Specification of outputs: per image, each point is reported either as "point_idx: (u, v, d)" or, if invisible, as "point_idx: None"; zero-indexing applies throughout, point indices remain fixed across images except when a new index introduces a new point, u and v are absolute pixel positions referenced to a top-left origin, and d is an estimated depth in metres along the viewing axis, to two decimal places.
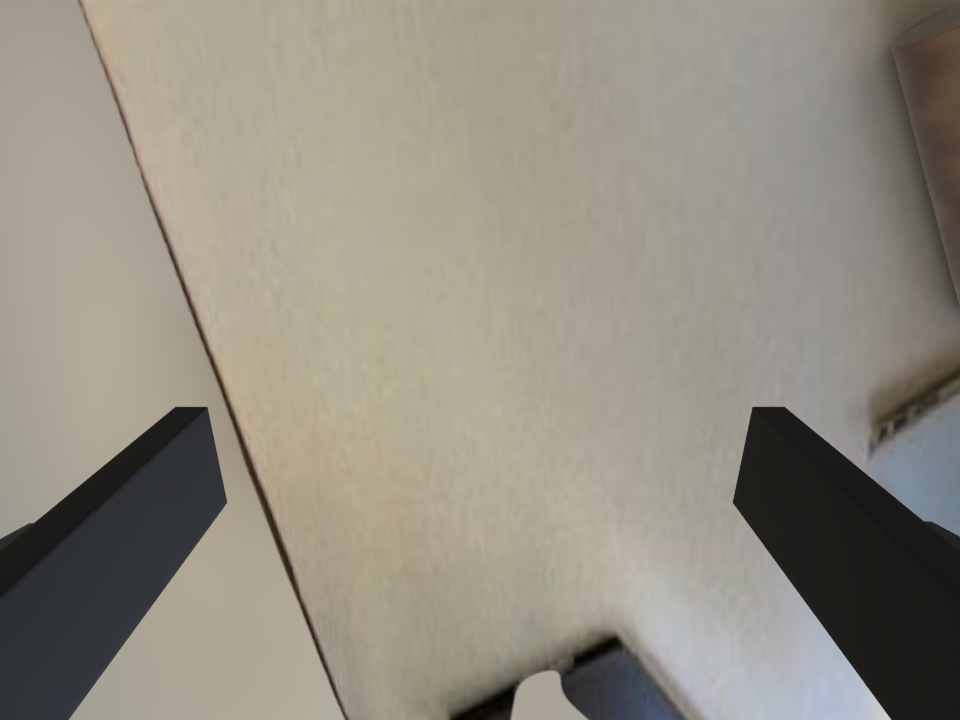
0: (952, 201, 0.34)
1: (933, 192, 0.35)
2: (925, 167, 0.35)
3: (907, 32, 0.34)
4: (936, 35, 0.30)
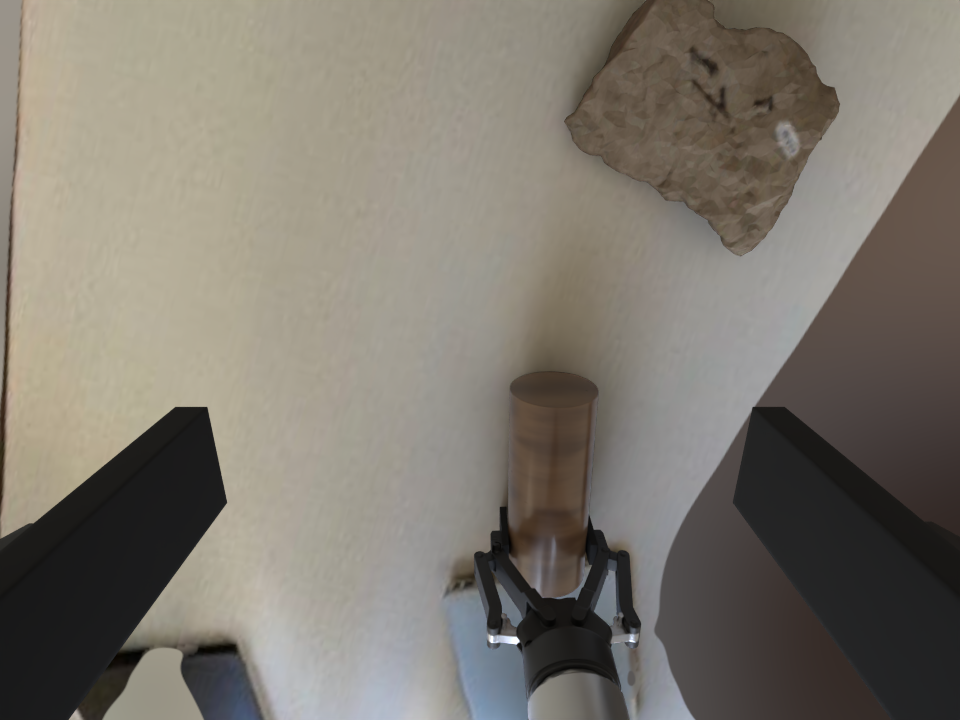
0: (508, 479, 0.55)
1: None
2: None
3: (533, 374, 0.55)
4: (514, 395, 0.51)
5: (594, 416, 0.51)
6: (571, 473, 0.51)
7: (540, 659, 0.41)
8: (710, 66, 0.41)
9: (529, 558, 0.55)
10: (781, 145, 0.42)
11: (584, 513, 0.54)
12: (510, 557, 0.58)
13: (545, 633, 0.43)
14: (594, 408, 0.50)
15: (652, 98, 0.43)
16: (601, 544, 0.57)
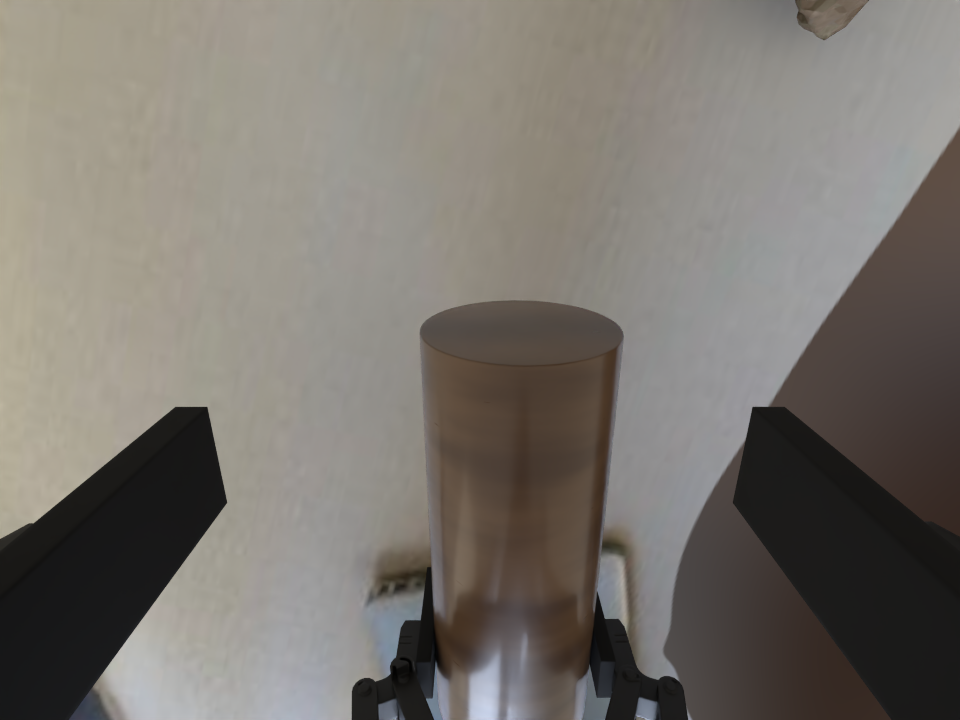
0: None
1: None
2: None
3: (482, 304, 0.26)
4: (425, 341, 0.21)
5: (614, 390, 0.22)
6: (560, 524, 0.22)
7: None
8: None
9: (471, 692, 0.26)
10: None
11: (587, 602, 0.25)
12: (438, 677, 0.29)
13: None
14: (614, 371, 0.21)
15: None
16: (622, 656, 0.28)
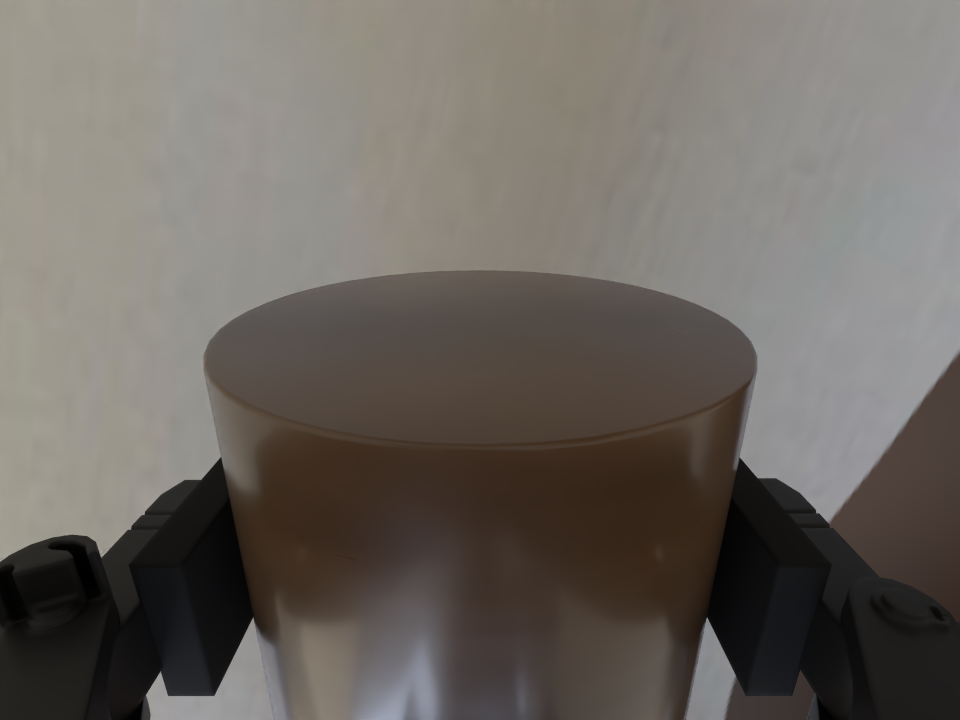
0: None
1: None
2: None
3: (411, 276, 0.13)
4: (207, 352, 0.08)
5: (730, 492, 0.08)
6: None
7: None
8: None
9: None
10: None
11: None
12: None
13: None
14: (740, 443, 0.07)
15: None
16: None
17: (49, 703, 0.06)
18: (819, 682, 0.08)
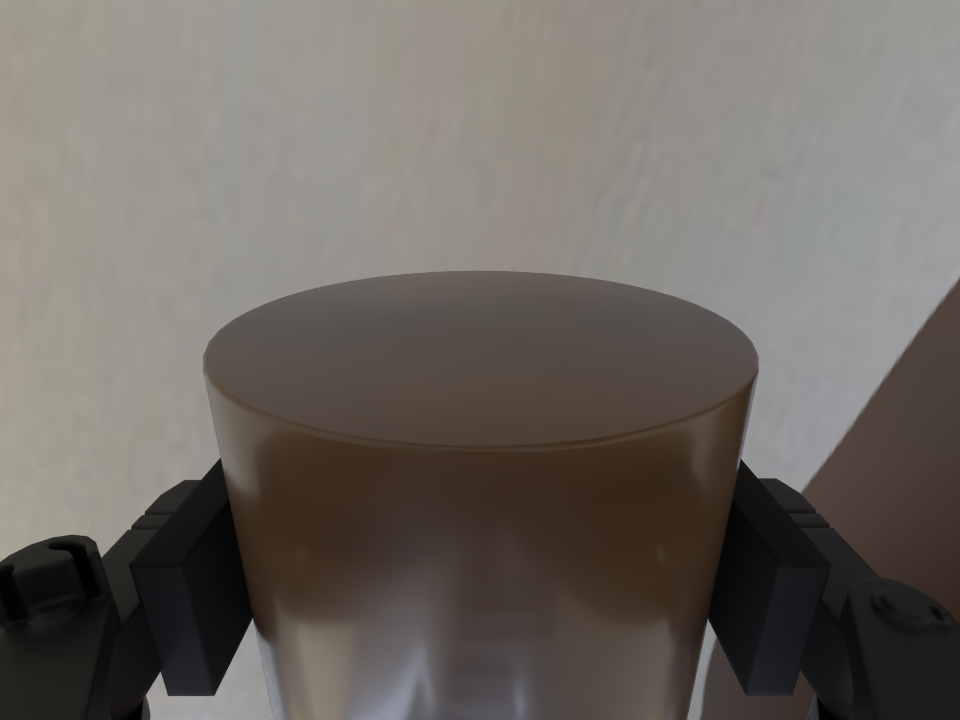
0: None
1: None
2: None
3: (411, 276, 0.13)
4: (207, 353, 0.08)
5: (732, 494, 0.08)
6: None
7: None
8: None
9: None
10: None
11: None
12: None
13: None
14: (742, 444, 0.07)
15: None
16: None
17: (49, 703, 0.06)
18: (819, 682, 0.08)
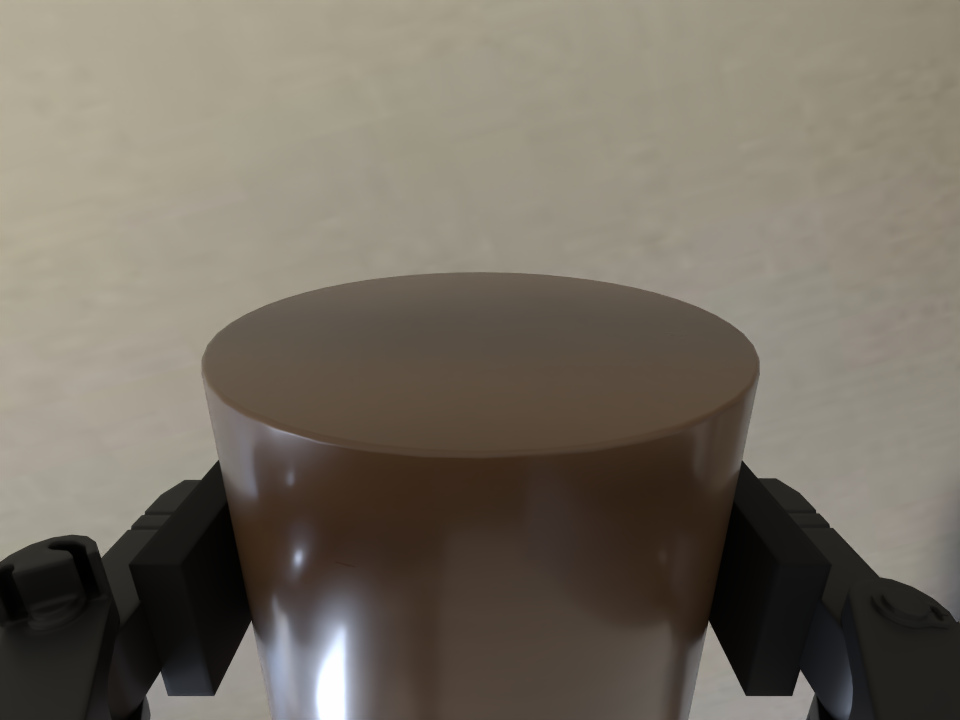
0: None
1: None
2: None
3: (411, 278, 0.12)
4: (206, 356, 0.08)
5: (732, 497, 0.08)
6: None
7: None
8: None
9: None
10: None
11: None
12: None
13: None
14: (743, 447, 0.07)
15: None
16: None
17: (49, 703, 0.06)
18: (819, 682, 0.08)
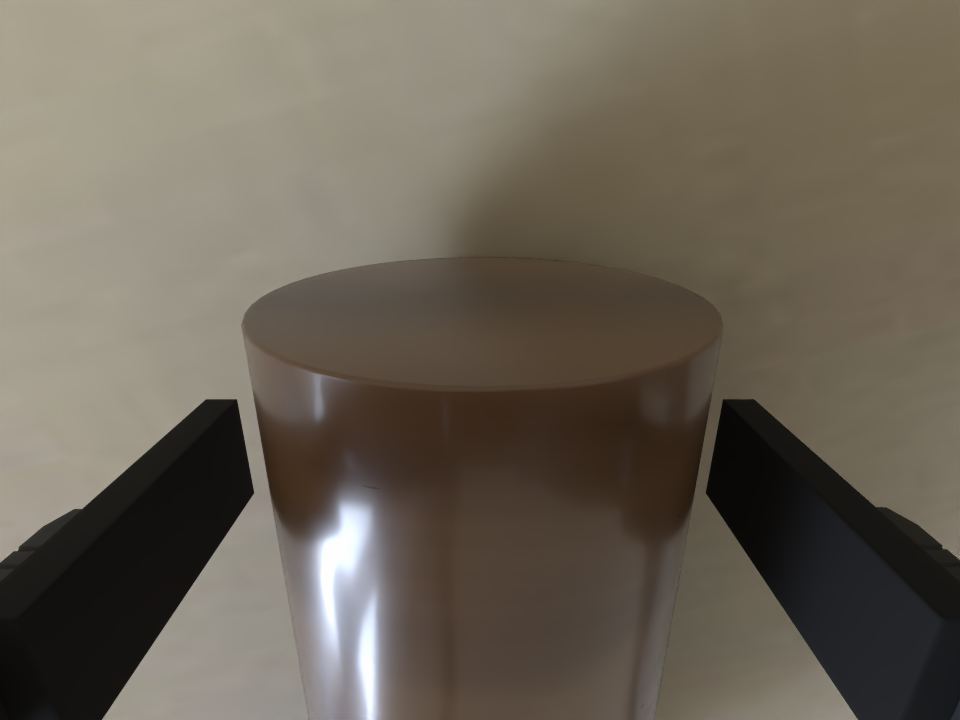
0: None
1: None
2: None
3: (418, 262, 0.14)
4: (245, 322, 0.09)
5: (701, 445, 0.09)
6: None
7: None
8: None
9: None
10: None
11: None
12: None
13: None
14: (708, 399, 0.08)
15: None
16: None
17: None
18: None
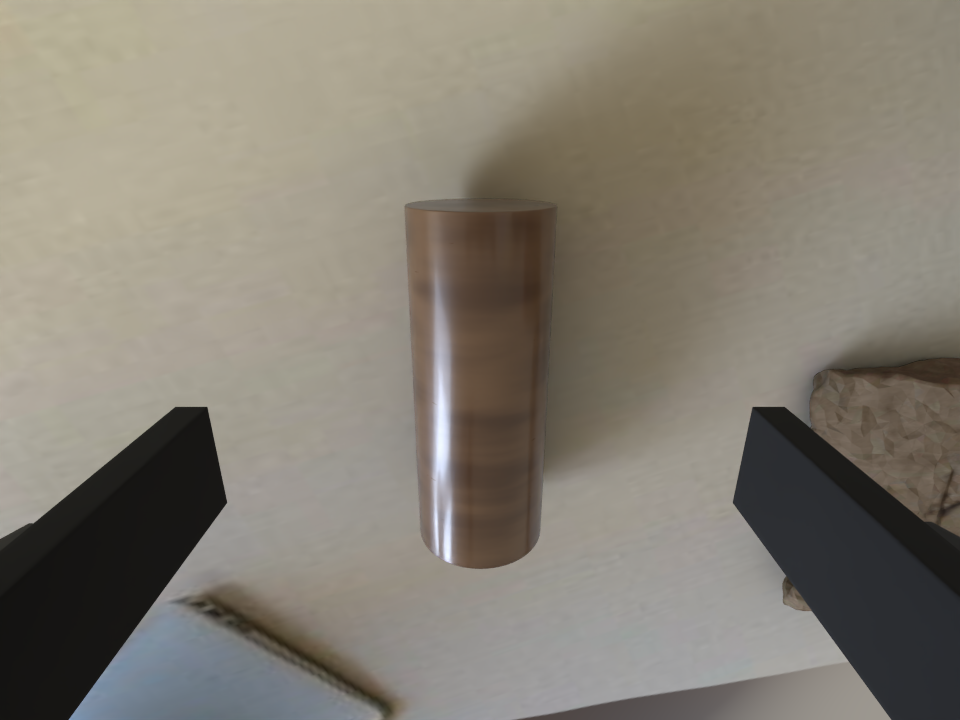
0: None
1: None
2: None
3: (455, 199, 0.34)
4: (408, 207, 0.29)
5: (548, 245, 0.29)
6: (508, 346, 0.29)
7: None
8: None
9: (444, 501, 0.33)
10: None
11: (534, 426, 0.32)
12: (420, 504, 0.36)
13: None
14: (547, 228, 0.28)
15: (915, 447, 0.36)
16: None
17: None
18: None
